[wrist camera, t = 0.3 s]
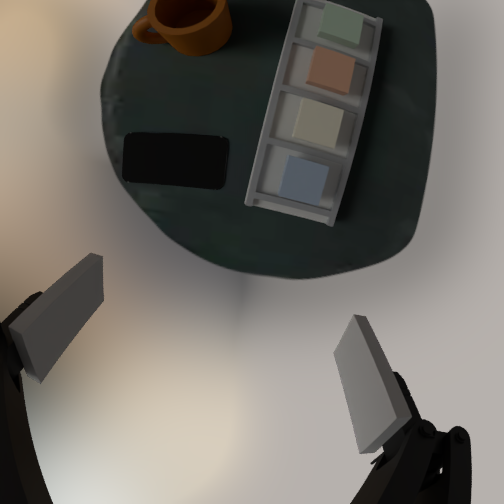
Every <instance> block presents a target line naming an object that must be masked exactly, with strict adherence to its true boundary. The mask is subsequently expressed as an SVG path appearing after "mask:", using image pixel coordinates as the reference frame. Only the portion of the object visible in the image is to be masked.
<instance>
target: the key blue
mask: <svg viewBox="0 0 504 504" xmlns="http://www.w3.org/2000/svg"><path fill="white" fill-rule="evenodd" d="M328 171H329V166H326V165H323V164H320V163H316V162H313V161H309V160H306V159H302V158H298V157H295V156H291V155H287V158H286V162H285V166H284V170H283V174H282V177H281V181H280V185H279V189H278V196H281V197H285V198H289V199H293V200H297V201H301V202H305V203H309V204H312V205H316V206H318V205H319V202H320V199H321V195H322V192H323V188H324V185H325V181H326V178H327V174H328Z"/></svg>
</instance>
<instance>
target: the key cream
mask: <svg viewBox="0 0 504 504" xmlns="http://www.w3.org/2000/svg"><path fill="white" fill-rule="evenodd" d="M343 113H344V110H342V109H339V108H336V107H333V106H330V105H327V104H324V103H321V102H317V101H314V100H311V99H307V98H303V99H302V100H301V103H300V107H299V111H298V115H297V119H296V123H295V127H294V131H293V135H292V137H293V138H297V139H301V140H304V141H308V142H311V143H315V144H318V145H321V146H325V147H328V148H332V149H334V148H335V145H336V141H337V137H338V133H339V129H340V125H341V121H342V117H343Z"/></svg>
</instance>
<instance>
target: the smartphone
mask: <svg viewBox="0 0 504 504" xmlns="http://www.w3.org/2000/svg"><path fill="white" fill-rule="evenodd" d="M227 152H228V141H227V140H226V139H225V138H224V137H219V136H207V135H193V134H175V133H158V132H150V133H128V134H127V135H126V136H125V138H124V148H123V166H122V177H123V179H124V180H125V181H126V182H134V183H148V184H161V185H173V186H184V187H194V188H204V189H213V190H218V189H220V188H221V187H222V186H223V184H224V178H225V169H226V161H227Z"/></svg>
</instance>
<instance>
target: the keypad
mask: <svg viewBox="0 0 504 504" xmlns="http://www.w3.org/2000/svg"><path fill="white" fill-rule="evenodd" d="M326 3H329V4H333V5H336V6H339V7H342V8H344V9H347V10H350V11H353V12H355V13H358V14H361V15H363V16H364V19H363V25H362V30H361V35H360V41H359V45H358V46H356V47H355V48H354V49H352V48H350V47H347V46H344V45H341V44H339V43H336V42H333V41H330V40H326V39H323V38H320V37H317V34H318V29H319V25H320V21H321V17H322V13H323V9H324V7H325V5H326ZM382 22H383V19H381V18H379V17H377V18H376V19H375V18H373V17H370V16H368V15H365V14H363V13H360V12H358V11H355V10H352V9H350V8H347V7H344V6H341V5H338V4H335V3H332V2H329V1H326V0H296V2H295V5H294V9H293V12H292V16H291V20H290V23H289V27H288V31H287V34H286V38H285V42H284V46H283V49H282V53H281V57H280V61H279V65H278V68H277V72H276V76H275V80H274V84H273V88H272V92H271V96H270V100H269V104H268V107H267V111H266V115H265V119H264V124H263V128H262V132H261V136H260V140H259V144H258V148H257V152H256V156H255V160H254V165H253V169H252V173H251V177H250V181H249V186H248V190H247V194H246V199H245V204H246V205H247V206H252V205H254V206H258V207H262V208H266V209H271V210H275V211H279V212H283V213H287V214H291V215H295V216H299V217H303V218H307V219H311V220H315V221H318V222H322V223H326V224H327V225H328V226H332V227H333V225H334V221H335V218H336V215H337V212H338V209H339V206H340V202H341V199H342V196H343V193H344V189H345V186H346V182H347V179H348V176H349V172H350V168H351V165H352V161H353V158H354V154H355V150H356V146H357V143H358V139H359V135H360V131H361V127H362V123H363V119H364V115H365V110H366V106H367V102H368V97H369V93H370V88H371V83H372V79H373V74H374V69H375V63H376V58H377V53H378V47H379V41H380V35H381V29H382ZM316 46H319V47H323V48H326V49H329V50H332V51H335V52H338V53H341V54H344V55H346V56H349V57H352V58H355V59H356V60H355V65H354V70H353V74H352V79H351V83H350V88H349V92H348V94H346V95H344V96H343V95H340V94H337V93H334V92H331V91H328V90H325V89H321V88H318V87H315V86H312V85H308V84H305V83H306V79H307V75H308V71H309V67H310V62H311V58H312V54H313V50H314V49H315V47H316ZM303 98H307V99H311V100H314V101H317V102H321V103H324V104H327V105H330V106H333V107H336V108H339V109H342V110H344V113H343V117H342V121H341V125H340V129H339V133H338V137H337V141H336V145H335V148H334V149H332V148H328V147H325V146H321V145H318V144H315V143H311V142H308V141H304V140H301V139H297V138H293V137H292V135H293V131H294V127H295V123H296V119H297V115H298V111H299V107H300V103H301V100H302V99H303ZM287 155H291V156H295V157H298V158H302V159H306V160H309V161H313V162H316V163H320V164H323V165H326V166H329V171H328V174H327V178H326V181H325V185H324V188H323V192H322V195H321V199H320V202H319V205H318V206H316V205H312V204H309V203H305V202H301V201H297V200H293V199H289V198H285V197H281V196H278V189H279V185H280V181H281V177H282V174H283V170H284V166H285V162H286V158H287Z"/></svg>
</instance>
